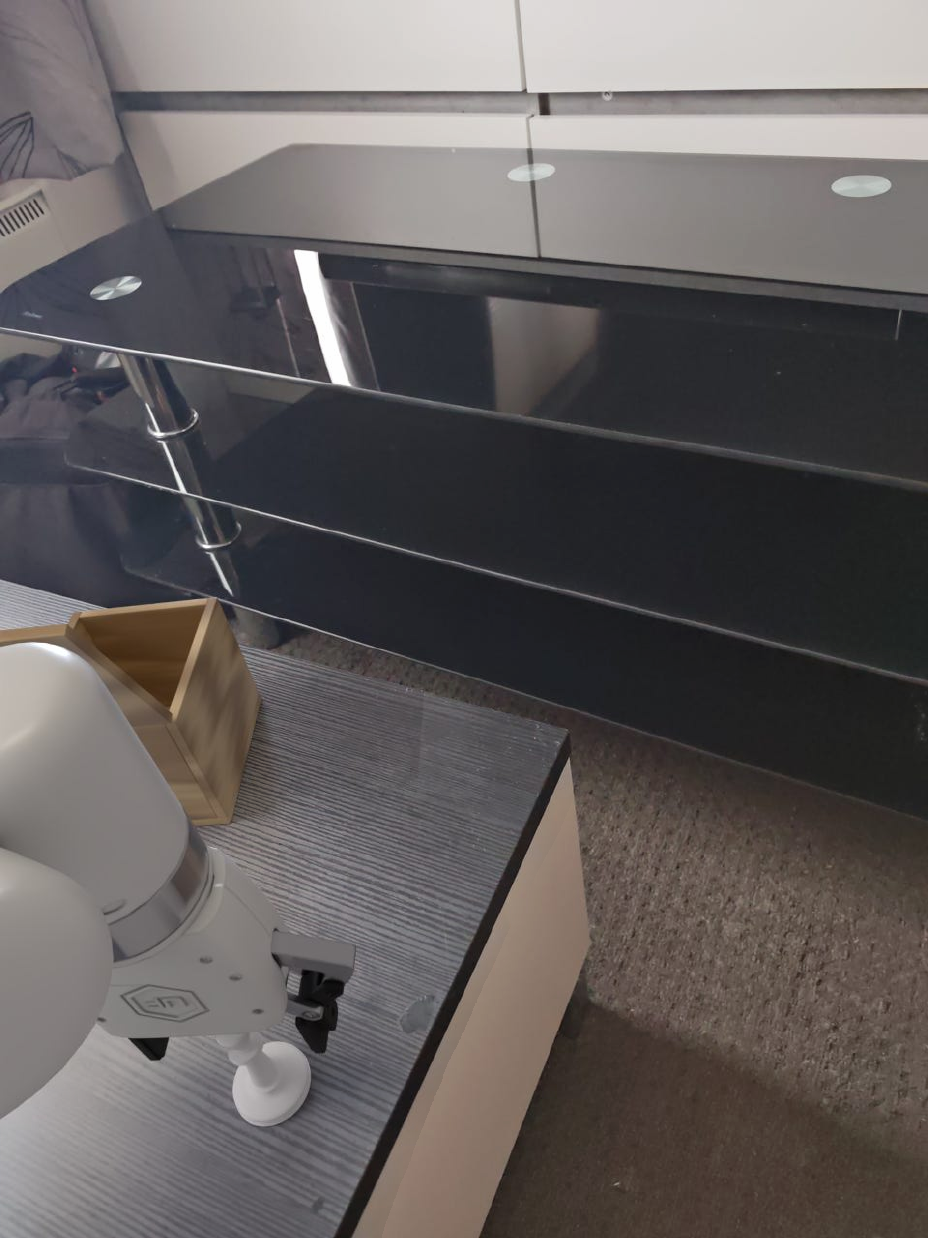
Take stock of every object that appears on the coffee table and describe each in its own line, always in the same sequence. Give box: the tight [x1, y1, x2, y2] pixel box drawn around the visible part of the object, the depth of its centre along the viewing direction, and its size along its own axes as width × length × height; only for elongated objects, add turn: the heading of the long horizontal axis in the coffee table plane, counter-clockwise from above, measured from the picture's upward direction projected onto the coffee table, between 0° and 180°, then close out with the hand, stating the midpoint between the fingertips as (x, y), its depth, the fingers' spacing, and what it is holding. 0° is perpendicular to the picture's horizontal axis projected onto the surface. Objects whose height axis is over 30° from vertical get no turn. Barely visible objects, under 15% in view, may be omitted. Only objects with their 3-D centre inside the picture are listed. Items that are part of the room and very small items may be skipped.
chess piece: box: [214, 1031, 312, 1127], centre depth 54 cm, size 5×5×10 cm
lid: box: [0, 623, 173, 727], centre depth 59 cm, size 14×13×1 cm
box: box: [67, 596, 263, 827], centre depth 75 cm, size 14×13×12 cm
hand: (243, 1031), depth 53 cm, fingers open, 9 cm apart
